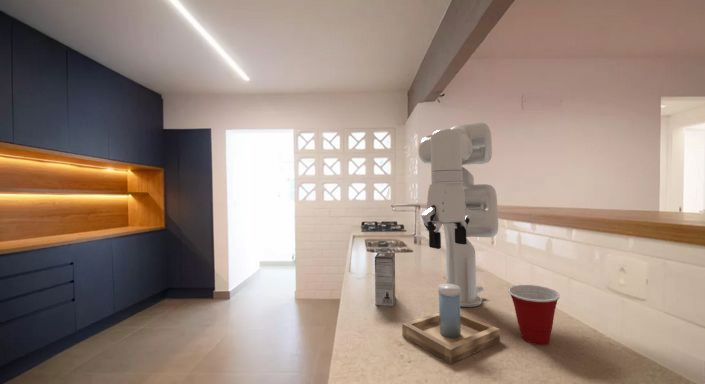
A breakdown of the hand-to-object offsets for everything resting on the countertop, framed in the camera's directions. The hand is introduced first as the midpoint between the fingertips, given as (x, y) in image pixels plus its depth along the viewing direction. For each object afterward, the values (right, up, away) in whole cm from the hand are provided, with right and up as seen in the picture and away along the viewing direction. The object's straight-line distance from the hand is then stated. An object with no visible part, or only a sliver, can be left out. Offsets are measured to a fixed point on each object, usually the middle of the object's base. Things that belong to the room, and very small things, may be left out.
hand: (448, 245), depth 71 cm
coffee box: (-13, -24, +25) cm, 37 cm away
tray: (0, -23, -1) cm, 23 cm away
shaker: (0, -22, -1) cm, 22 cm away
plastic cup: (+20, -23, -2) cm, 31 cm away
